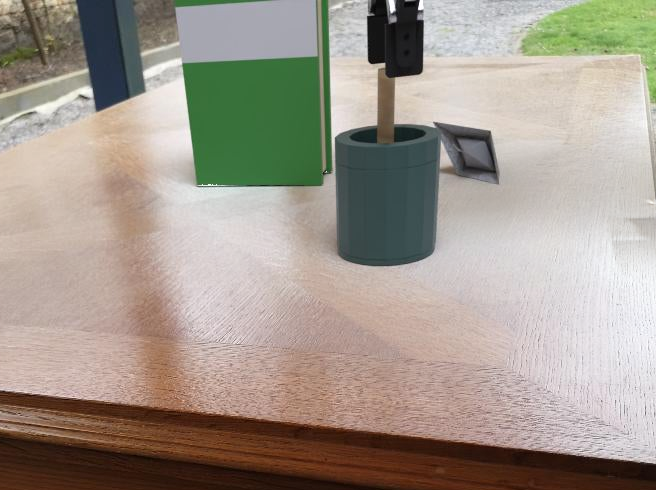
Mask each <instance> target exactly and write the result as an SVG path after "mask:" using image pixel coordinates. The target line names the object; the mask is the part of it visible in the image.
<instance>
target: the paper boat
mask: <svg viewBox="0 0 656 490" xmlns="http://www.w3.org/2000/svg"><path fill="white" fill-rule="evenodd" d="M432 123H433V126H434V128H437V129H438V130H439V131H440V132H441V144H442V145H443V147H444V150H445V151H446V154H447V156H448V157H449V160H450V162H451V165H452V166H453V168H454V171H455V173H456V176H457V175H458V176H462V177H465V178H470V179H473V180H477V181H483V182H487V183H490V184H491V183H492V184H496V185H500V174H501V173H500V172H501V171H500V168H499V164H498V163H499V162H498V158H497V154H496V148H495V144H494V139H493V135H492V130H487V129H482V128H481V129H480V128H475V127H470V126H463V125H456V124H450V123H444V122H438V121H432Z"/></svg>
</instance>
